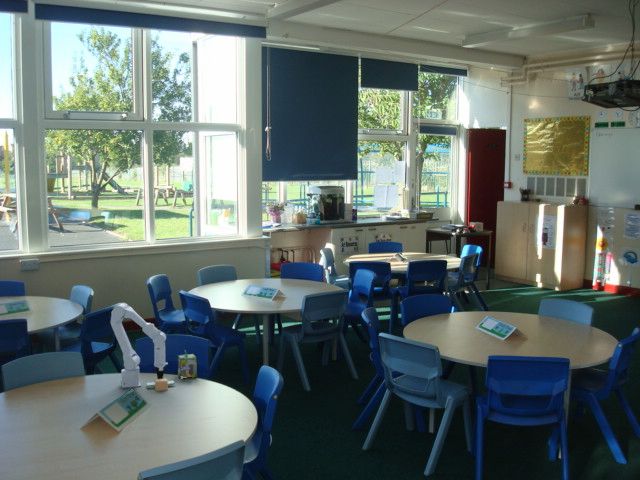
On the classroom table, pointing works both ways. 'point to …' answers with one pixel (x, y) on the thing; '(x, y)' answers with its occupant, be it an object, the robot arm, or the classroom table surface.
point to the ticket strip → (152, 385)
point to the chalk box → (187, 365)
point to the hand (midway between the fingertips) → (160, 380)
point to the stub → (161, 384)
